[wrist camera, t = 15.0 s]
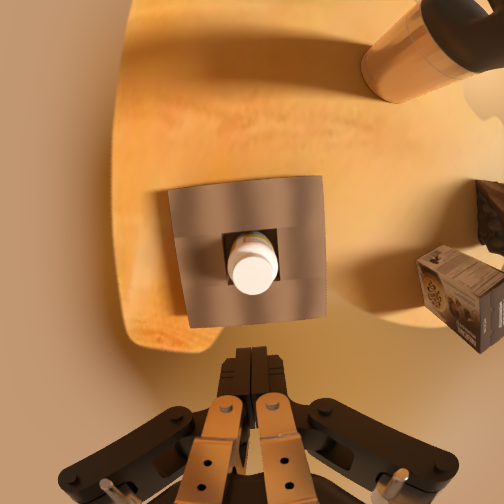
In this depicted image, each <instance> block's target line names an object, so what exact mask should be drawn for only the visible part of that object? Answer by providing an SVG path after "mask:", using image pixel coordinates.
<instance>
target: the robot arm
mask: <svg viewBox="0 0 504 504" xmlns="http://www.w3.org/2000/svg"><path fill="white" fill-rule="evenodd" d="M488 2H489V4H490V6H491V8H492V9H493V13H492V14H490V15H488V14H487V13H486V11H485V10H484V9H483V8H482V7H481V6H480V5H479V4H477V3H476V2H475V1H474V0H421V1H420V2H419V3H417V4H416V5H415V6H414V7H413V8H412V9H411V10H410V11H409V12H408V13H407V14H406V15H404V16H403V17H402V18H401V19H400V20H399V21H398V22H397V23H396V24H395V25H394V26H393V27H392V28H391V29H390V30H389V31H387V32H386V33H385V34H384V35H383V36H382V37H381V38H380V39H379V40H378V41H377V42H376V43H375V44H374V45H373V46H372V47H371V48H370V49H369V50H368V51H367V52H366V53H365V54H364V56H363V58H362V60H361V72H362V75H363V78H364V80H365V82H366V84H367V85H368V87H369V88H370V89H371V90H372V91H373V92H374V93H375V94H376V95H377V96H379V97H380V98H382V99H384V100H386V101H388V102H392V103H403V102H405V101H408V100H410V99H413V98H415V97H418V96H421V95H423V94H426V93H428V92H431V91H433V90H436V89H439V88H441V87H444V86H446V85H449V84H452V83H454V82H457V81H460V80H462V79H465V78H468V77H470V76H473V75H476V74H479V73H482V72H485V71H488V70H492V69H498V68H503V67H504V0H488ZM255 421H256V427H257V428H259V435H260V446H261V453H262V461H263V470H264V472H262V473H258V474H254V475H249V476H247V475H246V466H247V459H248V450H249V437H250V429H255ZM304 449H306V450H307V451H308V453H309V454H311V455H312V456H313V457H315V458H316V459H318V460H319V461H321V462H322V463H324V464H326V465H327V466H329V467H330V468H332V469H333V470H335V471H337V472H338V473H340V474H341V475H343V476H345V477H346V478H348V479H350V480H352V481H353V482H355V483H357V484H358V485H360V486H362V487H364V488H366V489H367V490H369V491H371V492H372V494H371V501H372V503H373V504H430V503H431V502H432V501H433V500H434V499H435V498H436V497H437V496H438V494H439V493H440V492H441V491H442V490H443V489H444V488H445V486H446V485H447V484H448V483H449V482H450V480H451V479H452V478H453V477H454V476H455V474H456V473H457V471H458V469H459V462H458V459H457V457H456V456H455V455H453V454H452V453H450V452H447V451H445V450H442V449H440V448H437V447H434V446H432V445H429V444H427V443H425V442H422V441H420V440H418V439H415V438H413V437H410V436H408V435H406V434H404V433H402V432H399V431H397V430H395V429H393V428H390V427H388V426H386V425H384V424H382V423H380V422H378V421H376V420H374V419H372V418H370V417H368V416H366V415H363V414H362V413H360V412H358V411H356V410H354V409H352V408H350V407H348V406H346V405H344V404H342V403H340V402H338V401H336V400H334V399H331V398H321V399H317V400H315V401H313V402H312V403H311V404H310V405H301V404H298V403H295V402H293V401H292V400H290V398H289V397H288V395H287V388H286V381H285V374H284V367H283V360H282V359H281V358H280V357H279V356H278V355H269V356H267V348H266V346H262V347H252V350H251V347H250V348H237V349H236V358H229V359H226V360H225V362H224V363H223V364H222V368H221V374H220V380H219V386H218V392H217V398H216V399H215V400H213V401H212V403H211V404H210V407H209V408H208V409H205V410H202V411H199V412H194V413H192V412H191V411H190V410H189V409H188V408H186V407H182V406H175V407H171V408H169V409H167V410H166V411H164V412H162V413H161V414H159V415H158V416H156V417H154V418H153V419H151V420H150V421H148V422H147V423H145V424H143V425H142V426H140V427H139V428H137V429H135V430H134V431H132V432H130V433H129V434H127V435H125V436H124V437H122V438H120V439H119V440H117V441H115V442H113V443H112V444H110V445H108V446H106V447H105V448H103V449H101V450H99V451H97V452H96V453H94V454H92V455H90V456H88V457H86V458H85V459H83V460H81V461H79V462H77V463H75V464H73V465H71V466H69V467H67V468H65V469H64V470H62V471H61V473H60V474H59V477H58V484H59V486H60V487H61V489H62V490H64V491H65V492H66V493H67V494H68V495H69V496H70V497H71V498H72V500H74V501H75V502H76V503H77V504H142V502H143V501H145V500H147V499H148V498H150V497H151V496H153V495H154V494H155V493H157V492H159V491H160V490H162V489H163V488H164V487H166V486H167V485H169V484H170V483H172V482H173V481H174V480H176V479H177V478H178V477H180V476H181V475H183V477H182V480H181V481H179V482H177V483H175V484H173V485H172V486H170V487H169V488H168V489H166V490H165V491H164V492H162V493H161V494H160V495H158V496H157V497H156V498H154V499H153V500H151V501H150V502H149V503H147V504H365V503H364V502H362V501H360V500H359V499H357V498H356V497H354V496H353V495H351V494H349V493H348V492H346V491H345V490H343V489H342V488H340V487H339V486H337V485H336V484H335V483H333V482H332V481H330V480H328V479H326V478H324V477H322V476H319V475H315V474H311V473H310V469H309V466H308V462H307V459H306V454H305V451H304Z"/></svg>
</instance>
